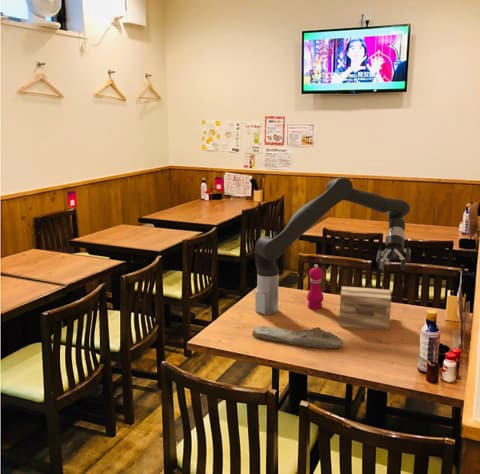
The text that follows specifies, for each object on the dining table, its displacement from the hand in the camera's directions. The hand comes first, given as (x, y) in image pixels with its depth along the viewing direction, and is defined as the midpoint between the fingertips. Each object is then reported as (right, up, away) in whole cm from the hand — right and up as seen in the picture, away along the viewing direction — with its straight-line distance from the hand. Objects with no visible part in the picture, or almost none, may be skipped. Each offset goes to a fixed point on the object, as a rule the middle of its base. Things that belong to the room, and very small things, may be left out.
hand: (391, 269), depth 215 cm
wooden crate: (-13, -22, -4) cm, 26 cm away
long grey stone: (-43, -26, -20) cm, 54 cm away
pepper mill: (-31, -18, +13) cm, 38 cm away
